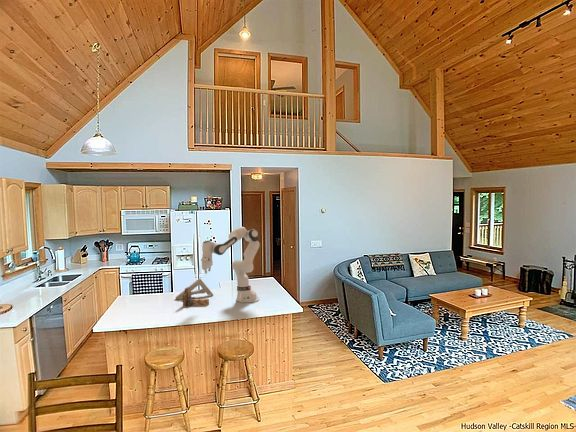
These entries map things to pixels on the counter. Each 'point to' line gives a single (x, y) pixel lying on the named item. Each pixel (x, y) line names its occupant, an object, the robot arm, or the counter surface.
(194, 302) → the rail
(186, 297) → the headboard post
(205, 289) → the wall bracket
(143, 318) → the counter surface
